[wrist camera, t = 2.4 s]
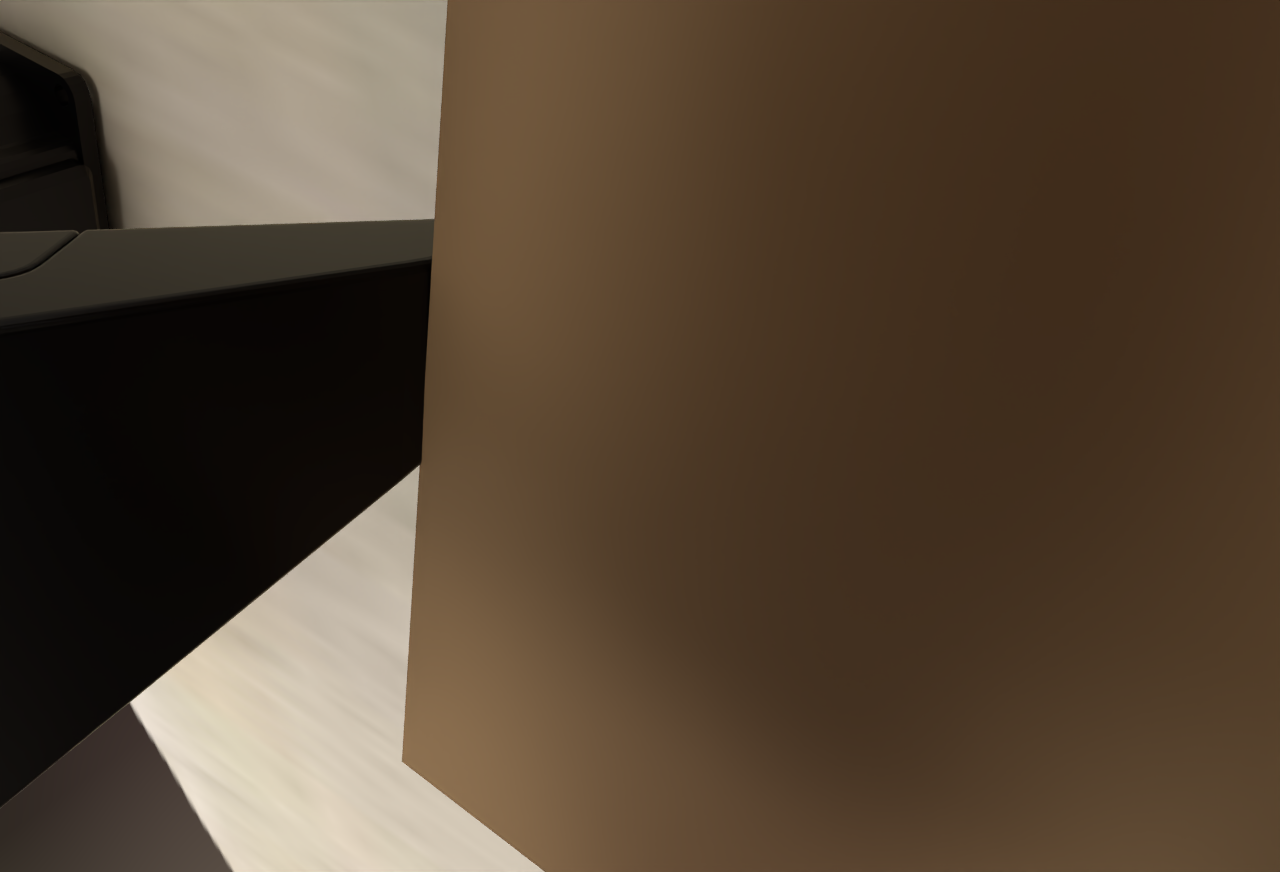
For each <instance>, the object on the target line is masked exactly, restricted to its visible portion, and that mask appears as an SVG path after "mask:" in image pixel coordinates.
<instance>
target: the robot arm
mask: <svg viewBox="0 0 1280 872" xmlns="http://www.w3.org/2000/svg"><path fill="white" fill-rule="evenodd" d="M434 221H435V219H424V220H392V221H359V222H327V223H295V224H263V225H231V226H199V227H167V228H135V229H109V227H108V220H107V213H106V206H105V198H104V191H103V184H102V177H101V169H100V162H99V155H98V148H97V140H96V133H95V126H94V119H93V111H92V104H91V98H90V94H89V90H88V88H87V86H86V83H85V81H84V80H83V79H82V77H81V76H80V75H79V74H78V73H77V72H76V71H74V70H72V69H70V68H69V67H67V66H65V65H63V64H61V63H59V62H57V61H55V60H53V59H51V58H49V57H47V56H46V55H44V54H42V53H40V52H38V51H36V50H34V49H32V48H30V47H28V46H26V45H24V44H23V43H21V42H19V41H17V40H15V39H13V38H11V37H9V36H7V35H5V34H3V33H1V32H0V808H1V807H2V806H3V805H5V804H6V803H7V802H8V801H10V800H11V799H12V798H13V797H14V796H16V795H17V794H18V793H19V792H20V791H22V790H23V789H24V788H25V787H27V786H28V785H29V784H30V783H32V782H33V781H34V780H35V779H37V778H38V777H39V776H40V775H41V774H43V773H44V772H45V771H46V770H48V769H49V768H50V767H51V766H52V765H54V764H55V763H56V762H57V761H58V760H60V759H61V758H62V757H63V756H65V755H66V754H67V753H68V752H70V751H71V750H72V749H73V748H74V747H76V746H77V745H78V744H79V743H81V742H82V741H83V740H84V739H85V738H87V737H88V736H89V735H90V734H92V733H93V732H94V731H95V730H96V729H98V728H99V727H100V726H101V725H103V724H104V723H105V722H106V721H108V720H109V719H110V718H111V717H112V716H114V715H115V714H116V713H117V712H118V711H120V710H121V709H122V708H123V707H125V706H126V705H127V704H128V703H130V702H131V701H132V700H133V699H134V698H136V697H137V696H138V695H139V694H141V693H142V692H143V691H144V690H145V689H147V688H148V687H149V686H150V685H152V684H153V683H154V682H155V681H156V680H158V679H159V678H160V677H161V676H163V675H164V674H165V673H166V672H167V671H169V670H170V669H171V668H172V667H174V666H175V665H176V664H177V663H179V662H180V661H181V660H182V659H183V658H185V657H186V656H187V655H188V654H190V653H191V652H192V651H193V650H194V649H196V648H197V647H198V646H199V645H201V644H202V643H203V642H204V641H205V640H207V639H208V638H209V637H210V636H212V635H213V634H214V633H215V632H216V631H218V630H219V629H220V628H221V627H223V626H224V625H225V624H226V623H227V622H229V621H230V620H231V619H232V618H234V617H235V616H236V615H237V614H239V613H240V612H241V611H242V610H243V609H245V608H246V607H247V606H248V605H250V604H251V603H252V602H253V601H254V600H256V599H257V598H258V597H259V596H261V595H262V594H263V593H264V592H265V591H267V590H268V589H269V588H270V587H272V586H273V585H274V584H275V583H276V582H278V581H279V580H280V579H281V578H283V577H284V576H285V575H286V574H287V573H289V572H290V571H291V570H292V569H294V568H295V567H296V566H297V565H298V564H300V563H301V562H302V561H303V560H305V559H306V558H307V557H308V556H310V555H311V554H312V553H313V552H314V551H316V550H317V549H318V548H319V547H321V546H322V545H323V544H324V543H325V542H327V541H328V540H329V539H330V538H332V537H333V536H334V535H335V534H336V533H338V532H339V531H340V530H341V529H343V528H344V527H345V526H346V525H347V524H349V523H350V522H351V521H352V520H354V519H355V518H356V517H357V516H358V515H360V514H361V513H362V512H363V511H365V510H366V509H367V508H368V507H369V506H371V505H372V504H373V503H374V502H376V501H377V500H378V499H379V498H381V497H382V496H383V495H384V494H385V493H387V492H388V491H389V490H390V489H392V488H393V487H394V486H395V485H396V484H398V483H399V482H400V481H401V480H402V479H404V478H405V477H406V476H407V475H408V474H409V473H411V472H412V471H413V470H414V469H415V468H416V467H418V466H419V465H420V464H421V461H422V442H423V418H424V394H425V371H426V354H427V338H428V321H429V305H430V288H431V271H432V255H433V238H434Z"/></svg>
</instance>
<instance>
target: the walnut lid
mask: <svg viewBox="0 0 1280 872" xmlns="http://www.w3.org/2000/svg"><path fill="white" fill-rule="evenodd" d="M402 762H403V763H405V764H406V765H407V766H409V767H410V768H411V769H412V770H414V771H415V772H416V773H418V774H419V775H420V776H422V777H423V778H424V779H425V780H427V781H428V782H429V783H431V784H432V785H433V786H434V787H436V788H437V789H438V790H440V791H441V792H442V793H444V794H445V795H446V796H447V797H449V798H450V799H451V800H453V801H454V802H455V803H457V804H458V805H459V806H460V807H462V808H463V809H464V810H466V811H467V812H468V813H470V814H471V815H472V816H473V817H475V818H476V819H477V820H479V821H480V822H481V823H483V824H484V825H485V826H486V827H488V828H489V829H490V830H492V831H493V832H494V833H495V834H497V835H498V836H499V837H501V838H502V839H503V840H505V841H506V842H507V843H508V844H510V845H511V846H512V847H514V848H515V849H516V850H518V851H519V852H520V853H521V854H523V855H524V856H525V857H527V858H528V859H529V860H531V861H532V862H533V863H534V864H536V865H537V866H538V867H540V868H541V869H542V870H544V871H545V872H1280V0H448V5H447V21H446V38H445V55H444V71H443V88H442V105H441V121H440V138H439V155H438V171H437V188H436V205H435V221H434V238H433V255H432V271H431V288H430V305H429V321H428V338H427V354H426V371H425V394H424V418H423V442H422V461H421V464H420V471H419V488H418V504H417V521H416V538H415V554H414V571H413V588H412V604H411V621H410V638H409V654H408V671H407V688H406V704H405V721H404V738H403V754H402Z"/></svg>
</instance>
